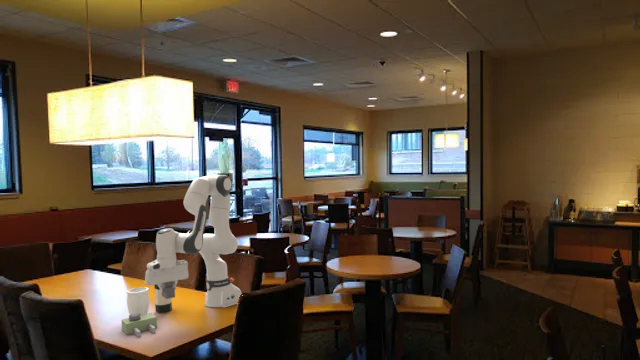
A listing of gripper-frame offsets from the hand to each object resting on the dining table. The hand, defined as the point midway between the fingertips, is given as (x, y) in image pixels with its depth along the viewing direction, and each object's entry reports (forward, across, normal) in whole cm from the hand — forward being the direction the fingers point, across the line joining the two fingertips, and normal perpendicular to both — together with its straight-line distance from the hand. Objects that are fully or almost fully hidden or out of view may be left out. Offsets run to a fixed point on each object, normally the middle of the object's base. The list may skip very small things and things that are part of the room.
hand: (167, 291), depth 215 cm
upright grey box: (+3, 0, 0) cm, 3 cm away
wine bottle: (+17, -6, -26) cm, 32 cm away
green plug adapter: (+17, +12, -4) cm, 21 cm away
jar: (+17, +8, -22) cm, 29 cm away
